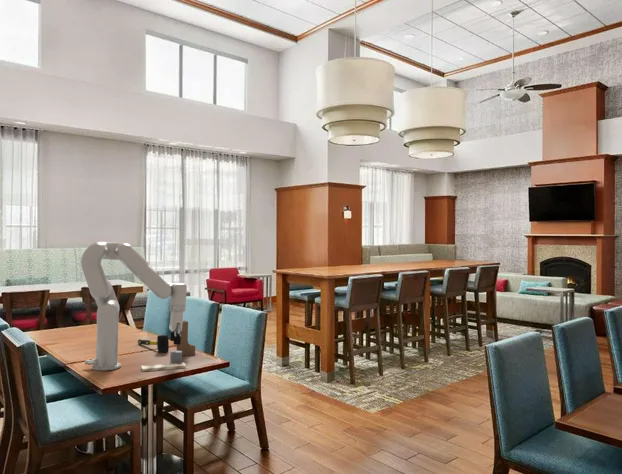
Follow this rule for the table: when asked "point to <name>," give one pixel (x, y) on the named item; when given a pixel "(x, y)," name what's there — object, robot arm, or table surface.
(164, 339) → the mallet
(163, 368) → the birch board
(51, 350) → the table surface
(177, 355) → the block
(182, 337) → the wooden block
